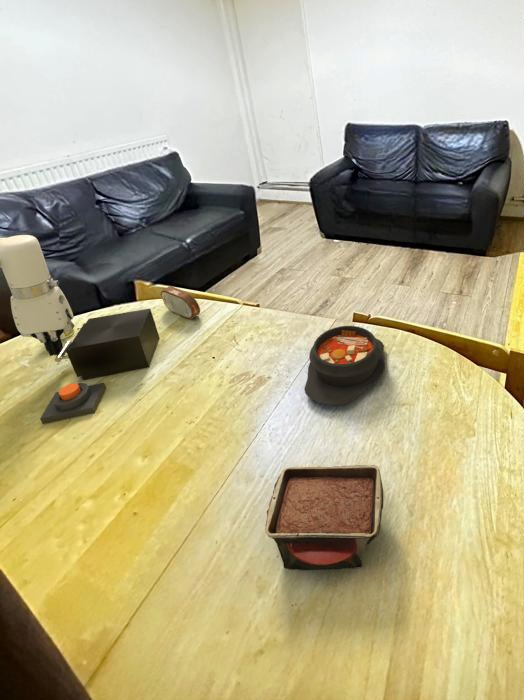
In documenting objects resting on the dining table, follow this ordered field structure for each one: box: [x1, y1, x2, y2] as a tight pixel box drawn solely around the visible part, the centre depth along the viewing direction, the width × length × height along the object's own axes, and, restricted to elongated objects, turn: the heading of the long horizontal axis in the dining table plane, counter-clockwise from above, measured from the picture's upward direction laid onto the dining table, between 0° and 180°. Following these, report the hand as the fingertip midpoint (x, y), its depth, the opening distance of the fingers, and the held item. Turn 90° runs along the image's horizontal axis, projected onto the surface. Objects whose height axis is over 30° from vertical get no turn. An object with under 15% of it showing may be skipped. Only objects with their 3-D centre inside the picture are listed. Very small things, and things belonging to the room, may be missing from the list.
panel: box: [39, 382, 107, 425], centre depth 93 cm, size 10×8×4 cm
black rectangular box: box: [69, 308, 160, 382], centre depth 106 cm, size 15×13×10 cm
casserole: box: [303, 325, 386, 406], centre depth 98 cm, size 25×19×8 cm
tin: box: [160, 285, 201, 320], centre depth 124 cm, size 15×3×8 cm, turn 59°
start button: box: [58, 382, 81, 401], centre depth 92 cm, size 4×4×2 cm
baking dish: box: [264, 464, 384, 571], centre depth 65 cm, size 14×18×10 cm
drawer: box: [54, 323, 86, 378], centre depth 105 cm, size 18×12×8 cm, turn 106°
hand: (56, 352), depth 103 cm, fingers closed
